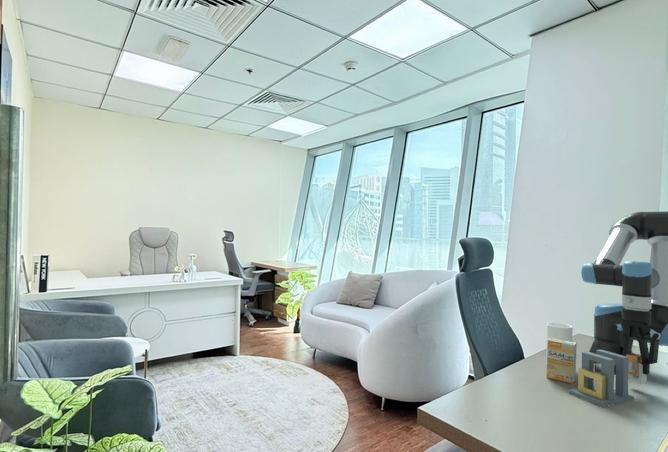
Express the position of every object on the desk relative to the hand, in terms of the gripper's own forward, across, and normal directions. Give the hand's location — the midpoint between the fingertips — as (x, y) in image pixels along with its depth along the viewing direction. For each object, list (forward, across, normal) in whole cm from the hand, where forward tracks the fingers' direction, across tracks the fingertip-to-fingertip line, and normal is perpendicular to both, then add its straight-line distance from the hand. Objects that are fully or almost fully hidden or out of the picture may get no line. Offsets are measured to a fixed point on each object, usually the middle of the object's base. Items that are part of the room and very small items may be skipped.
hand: (635, 381), depth 122 cm
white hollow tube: (+3, -22, -6) cm, 23 cm away
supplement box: (+3, -14, -16) cm, 21 cm away
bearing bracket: (+3, 0, -18) cm, 18 cm away
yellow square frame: (-2, 0, -22) cm, 22 cm away
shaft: (-2, 0, -8) cm, 9 cm away
